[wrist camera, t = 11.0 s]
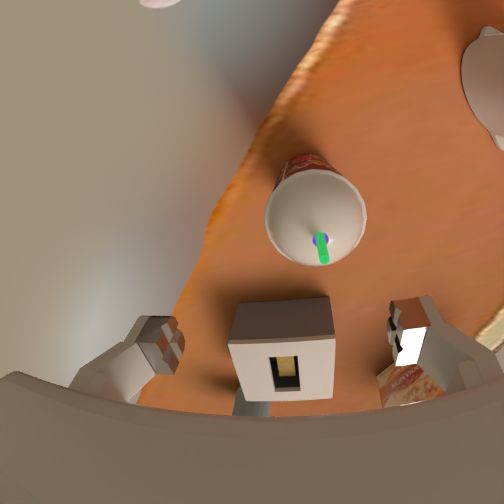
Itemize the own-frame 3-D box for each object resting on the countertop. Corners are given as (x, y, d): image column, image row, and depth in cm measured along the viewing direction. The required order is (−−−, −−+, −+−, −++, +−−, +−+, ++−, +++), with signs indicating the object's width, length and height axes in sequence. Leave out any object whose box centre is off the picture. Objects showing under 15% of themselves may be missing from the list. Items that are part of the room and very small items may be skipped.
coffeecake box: (430, 328, 44) (465, 417, 27) (448, 341, 45) (481, 422, 28) (374, 376, 51) (388, 462, 34) (395, 385, 52) (411, 464, 35)
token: (293, 322, 45) (293, 350, 40) (295, 348, 48) (295, 375, 42) (277, 323, 45) (275, 351, 40) (281, 349, 48) (279, 376, 43)
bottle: (272, 380, 54) (265, 446, 41) (270, 399, 57) (263, 460, 44) (237, 377, 55) (224, 442, 41) (238, 396, 58) (226, 455, 45)
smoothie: (259, 183, 36) (229, 267, 19) (301, 132, 32) (317, 163, 15) (310, 222, 38) (325, 330, 20) (353, 175, 34) (413, 251, 17)
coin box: (329, 296, 43) (335, 338, 35) (329, 357, 49) (332, 397, 41) (238, 302, 45) (227, 344, 37) (252, 361, 52) (246, 401, 44)
